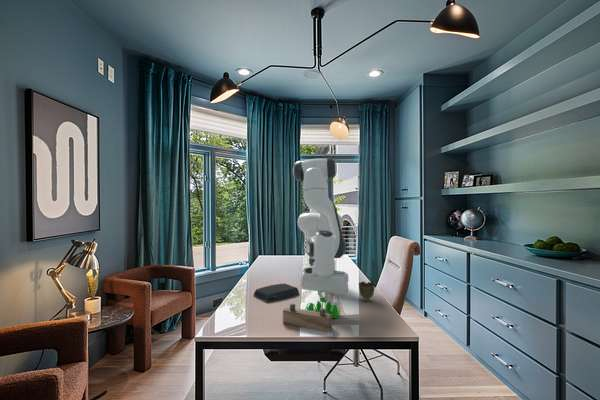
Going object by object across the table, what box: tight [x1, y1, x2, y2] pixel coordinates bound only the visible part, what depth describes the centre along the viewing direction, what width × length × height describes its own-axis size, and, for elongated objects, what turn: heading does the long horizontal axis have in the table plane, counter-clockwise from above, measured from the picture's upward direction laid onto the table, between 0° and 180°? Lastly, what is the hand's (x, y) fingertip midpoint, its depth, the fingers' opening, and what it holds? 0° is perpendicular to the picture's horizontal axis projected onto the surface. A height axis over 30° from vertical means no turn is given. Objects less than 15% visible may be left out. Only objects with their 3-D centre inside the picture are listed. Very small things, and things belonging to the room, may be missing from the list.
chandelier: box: [304, 297, 341, 320], centre depth 126 cm, size 15×15×7 cm
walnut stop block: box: [282, 303, 333, 333], centre depth 115 cm, size 4×18×7 cm, turn 66°
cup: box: [358, 281, 376, 302], centre depth 144 cm, size 8×7×8 cm
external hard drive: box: [252, 282, 300, 303], centre depth 151 cm, size 13×19×4 cm
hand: (324, 302), depth 132 cm, fingers closed, pressing on chandelier
